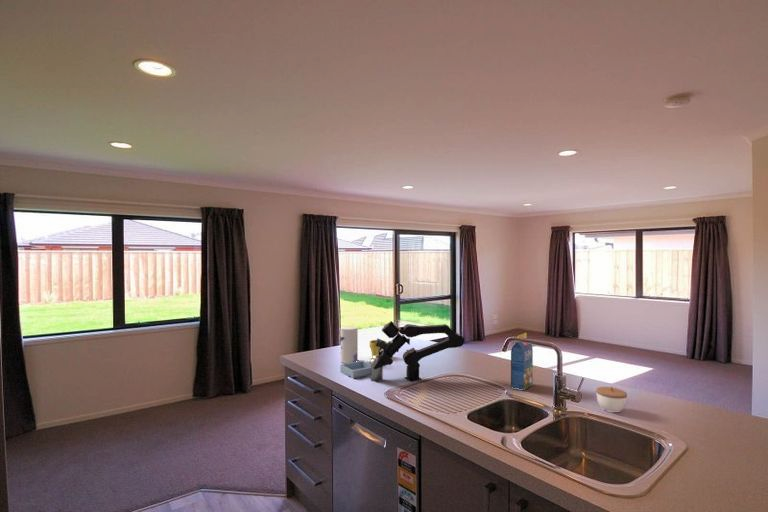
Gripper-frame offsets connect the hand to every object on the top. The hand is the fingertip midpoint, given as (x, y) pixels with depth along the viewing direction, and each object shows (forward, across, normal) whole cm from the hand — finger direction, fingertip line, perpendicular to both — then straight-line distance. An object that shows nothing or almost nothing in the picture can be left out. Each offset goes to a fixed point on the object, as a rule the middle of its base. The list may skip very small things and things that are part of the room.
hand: (373, 366), depth 196 cm
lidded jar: (-61, +46, +71) cm, 104 cm away
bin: (+10, -12, -1) cm, 16 cm away
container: (+14, -36, -4) cm, 38 cm away
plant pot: (+2, -43, +8) cm, 44 cm away
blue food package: (-44, +15, +54) cm, 72 cm away
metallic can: (+4, 0, +6) cm, 7 cm away
